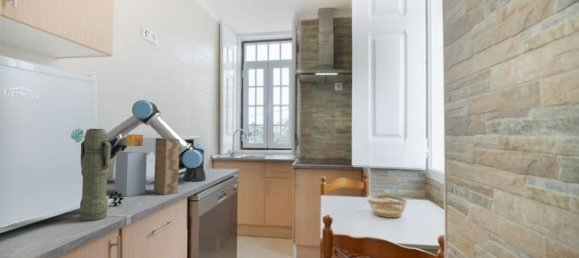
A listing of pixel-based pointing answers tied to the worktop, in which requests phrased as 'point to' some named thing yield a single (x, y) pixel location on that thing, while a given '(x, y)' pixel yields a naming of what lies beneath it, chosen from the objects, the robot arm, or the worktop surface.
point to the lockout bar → (131, 140)
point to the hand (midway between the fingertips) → (125, 136)
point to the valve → (114, 199)
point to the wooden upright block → (166, 166)
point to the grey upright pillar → (130, 173)
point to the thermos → (94, 174)
